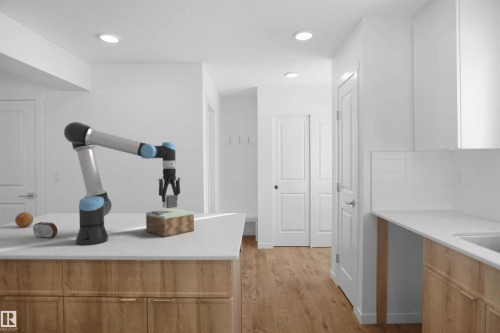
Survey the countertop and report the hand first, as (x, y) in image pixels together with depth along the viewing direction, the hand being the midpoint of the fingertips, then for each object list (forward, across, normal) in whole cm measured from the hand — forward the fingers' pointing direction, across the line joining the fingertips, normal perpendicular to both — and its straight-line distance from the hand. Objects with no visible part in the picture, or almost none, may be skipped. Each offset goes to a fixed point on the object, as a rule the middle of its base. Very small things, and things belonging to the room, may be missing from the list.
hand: (170, 206), depth 186 cm
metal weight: (0, 0, 0) cm, 0 cm away
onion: (+15, -55, +87) cm, 104 cm away
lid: (+5, 0, 0) cm, 5 cm away
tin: (+15, -54, +43) cm, 71 cm away
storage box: (+15, 0, 0) cm, 15 cm away
